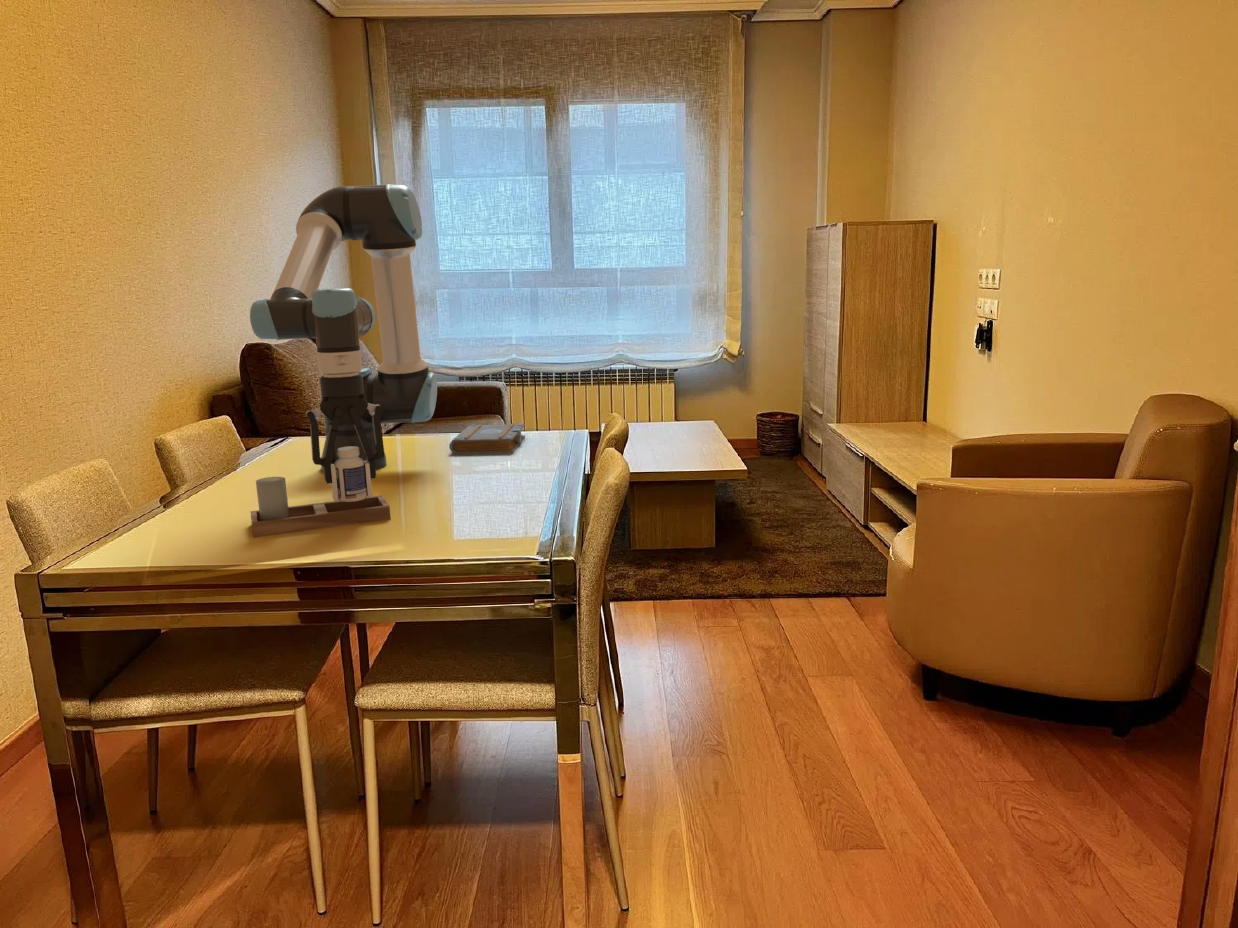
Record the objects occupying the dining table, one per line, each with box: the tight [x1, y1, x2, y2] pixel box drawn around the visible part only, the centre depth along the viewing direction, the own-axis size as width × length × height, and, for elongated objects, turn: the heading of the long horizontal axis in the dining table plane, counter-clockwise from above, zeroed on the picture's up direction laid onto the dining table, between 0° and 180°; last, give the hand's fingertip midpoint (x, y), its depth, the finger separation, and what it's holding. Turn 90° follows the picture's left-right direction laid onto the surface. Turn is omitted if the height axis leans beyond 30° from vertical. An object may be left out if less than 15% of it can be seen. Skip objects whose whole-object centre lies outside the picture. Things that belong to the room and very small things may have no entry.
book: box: [449, 423, 526, 455], centre depth 242 cm, size 21×16×5 cm
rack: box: [250, 495, 392, 538], centre depth 171 cm, size 9×24×4 cm, turn 113°
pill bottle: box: [334, 446, 368, 502], centre depth 171 cm, size 5×5×10 cm
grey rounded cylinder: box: [255, 476, 289, 521], centre depth 167 cm, size 5×5×9 cm
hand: (352, 497), depth 172 cm, fingers closed on pill bottle, 5 cm apart
